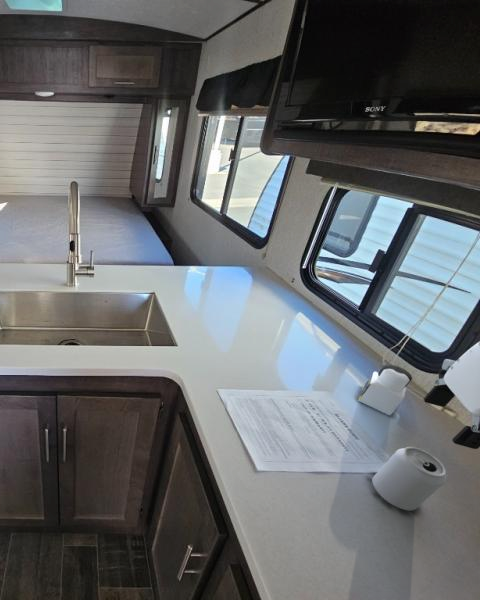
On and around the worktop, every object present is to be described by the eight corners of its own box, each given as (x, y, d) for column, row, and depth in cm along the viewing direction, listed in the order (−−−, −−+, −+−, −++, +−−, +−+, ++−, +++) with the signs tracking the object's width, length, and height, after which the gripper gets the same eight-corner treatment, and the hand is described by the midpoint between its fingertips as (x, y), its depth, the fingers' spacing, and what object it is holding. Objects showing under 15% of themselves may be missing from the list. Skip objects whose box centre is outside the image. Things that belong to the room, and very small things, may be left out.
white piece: (362, 388, 95) (383, 357, 89) (393, 402, 91) (417, 371, 85) (357, 401, 91) (379, 369, 84) (390, 416, 86) (415, 384, 80)
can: (403, 519, 64) (440, 485, 58) (362, 484, 70) (392, 450, 64) (422, 503, 67) (460, 470, 61) (382, 471, 73) (412, 438, 67)
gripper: (604, 397, 42) (508, 473, 51) (508, 327, 56) (446, 395, 65) (528, 380, 44) (448, 456, 53) (454, 317, 58) (401, 384, 67)
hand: (447, 422), depth 59 cm, fingers open, 9 cm apart
